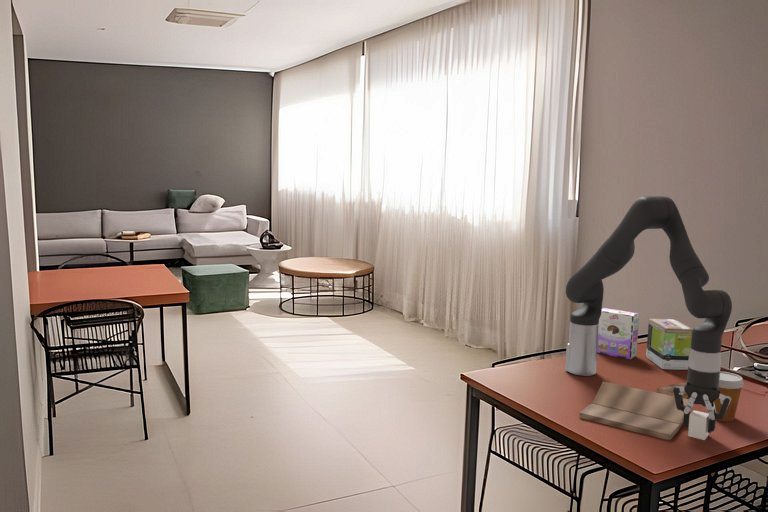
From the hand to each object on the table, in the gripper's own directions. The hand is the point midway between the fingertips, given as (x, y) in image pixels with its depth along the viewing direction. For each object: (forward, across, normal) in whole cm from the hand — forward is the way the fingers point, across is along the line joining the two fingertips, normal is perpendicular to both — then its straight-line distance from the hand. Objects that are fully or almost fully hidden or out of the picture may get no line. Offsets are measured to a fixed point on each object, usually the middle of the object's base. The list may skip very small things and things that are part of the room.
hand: (698, 429), depth 174 cm
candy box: (+2, -42, +60) cm, 73 cm away
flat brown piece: (+2, -13, +32) cm, 35 cm away
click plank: (0, -17, +6) cm, 18 cm away
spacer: (+2, 0, 0) cm, 2 cm away
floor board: (+2, -17, -4) cm, 17 cm away
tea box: (+2, -24, +61) cm, 66 cm away
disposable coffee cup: (+2, +2, +18) cm, 18 cm away
